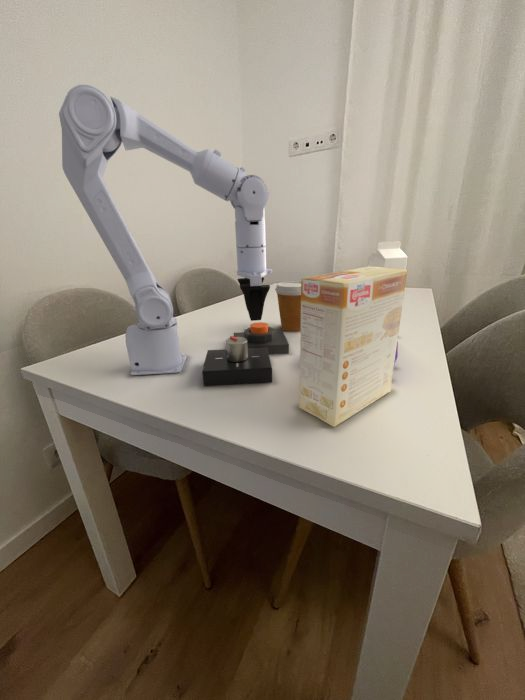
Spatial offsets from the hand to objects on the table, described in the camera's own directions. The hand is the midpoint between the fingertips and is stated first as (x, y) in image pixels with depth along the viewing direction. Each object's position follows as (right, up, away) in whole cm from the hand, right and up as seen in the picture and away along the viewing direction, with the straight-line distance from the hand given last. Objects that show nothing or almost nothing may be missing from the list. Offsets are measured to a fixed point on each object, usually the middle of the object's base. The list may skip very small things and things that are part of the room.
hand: (253, 315), depth 64 cm
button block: (+1, -7, +6) cm, 9 cm away
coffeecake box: (+15, -15, -16) cm, 27 cm away
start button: (+1, -3, +5) cm, 6 cm away
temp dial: (-3, -9, -7) cm, 12 cm away
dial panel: (-3, -12, -6) cm, 13 cm away
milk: (+31, -4, +12) cm, 33 cm away
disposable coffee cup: (+10, -2, +19) cm, 22 cm away
